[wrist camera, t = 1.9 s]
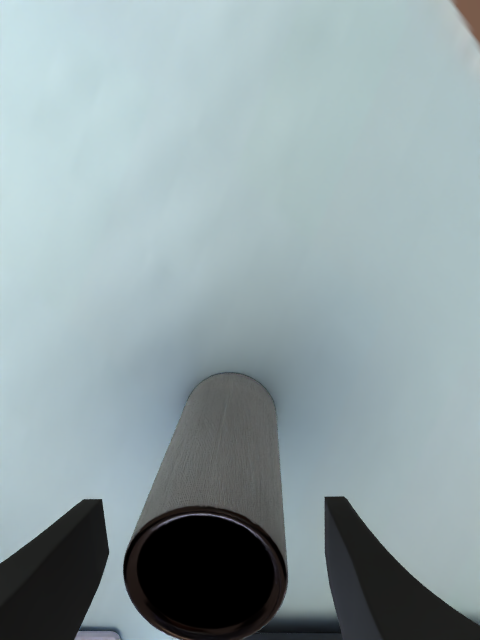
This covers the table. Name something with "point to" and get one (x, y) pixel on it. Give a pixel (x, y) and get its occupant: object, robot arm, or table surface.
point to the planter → (214, 519)
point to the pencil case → (295, 636)
